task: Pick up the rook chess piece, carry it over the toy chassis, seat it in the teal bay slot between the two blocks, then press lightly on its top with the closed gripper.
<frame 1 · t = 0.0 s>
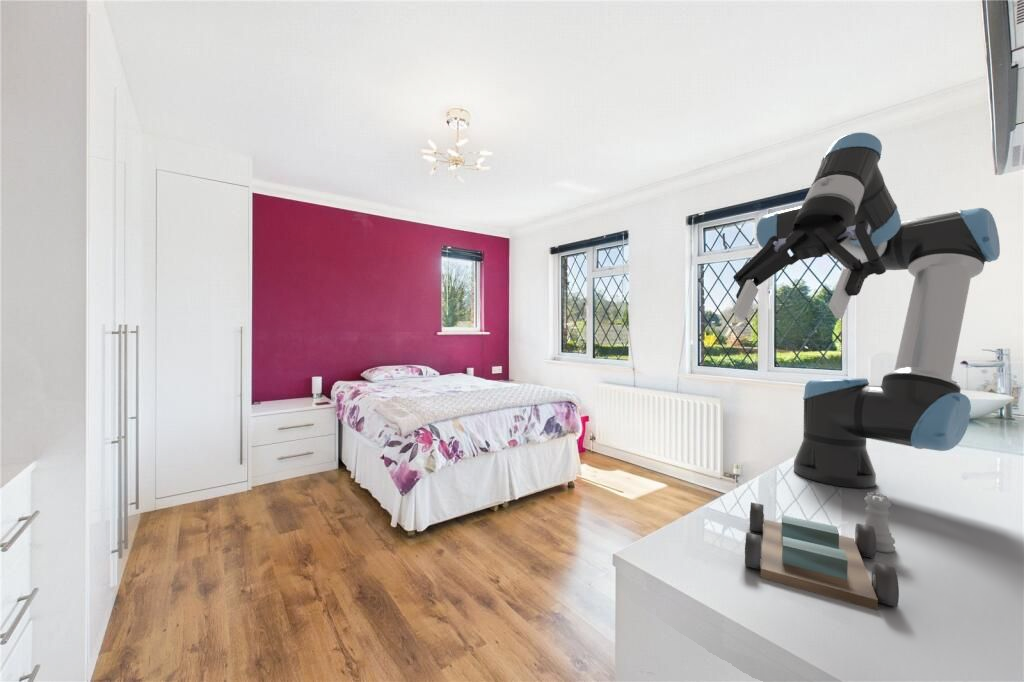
hand: (781, 314, 62), 36 cm above the cabinet, tool tilted 35°, fingers open, 13 cm apart
rook chess piece: (876, 547, 65), on the cabinet
chassis: (810, 560, 60), on the cabinet
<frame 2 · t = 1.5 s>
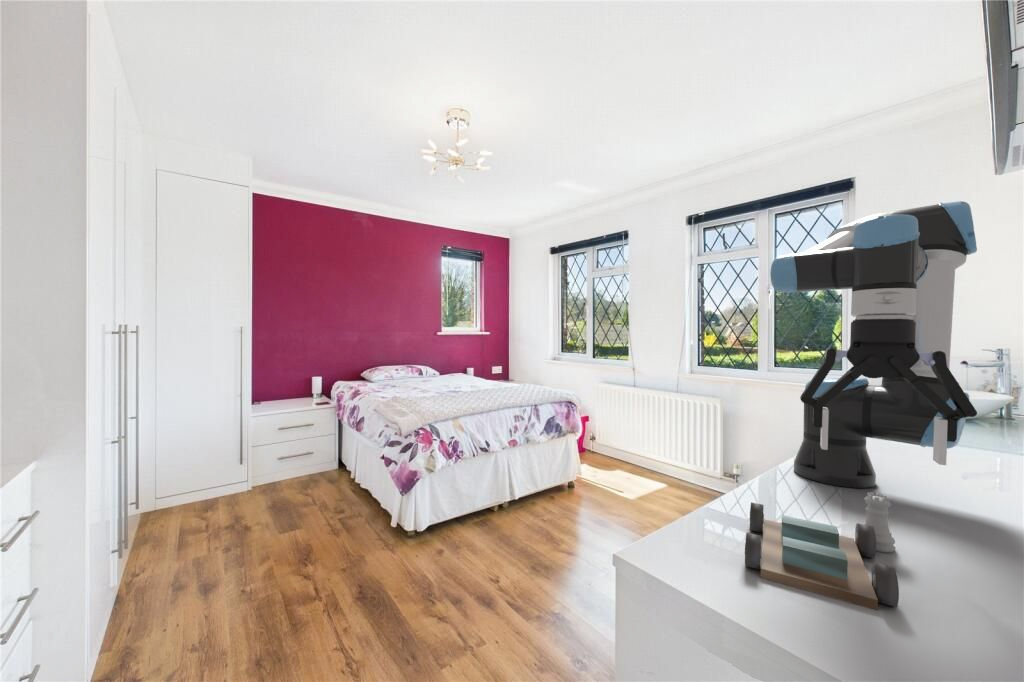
hand: (878, 455, 64), 14 cm above the cabinet, tool pointing down, fingers open, 13 cm apart
nothing on the cabinet moved.
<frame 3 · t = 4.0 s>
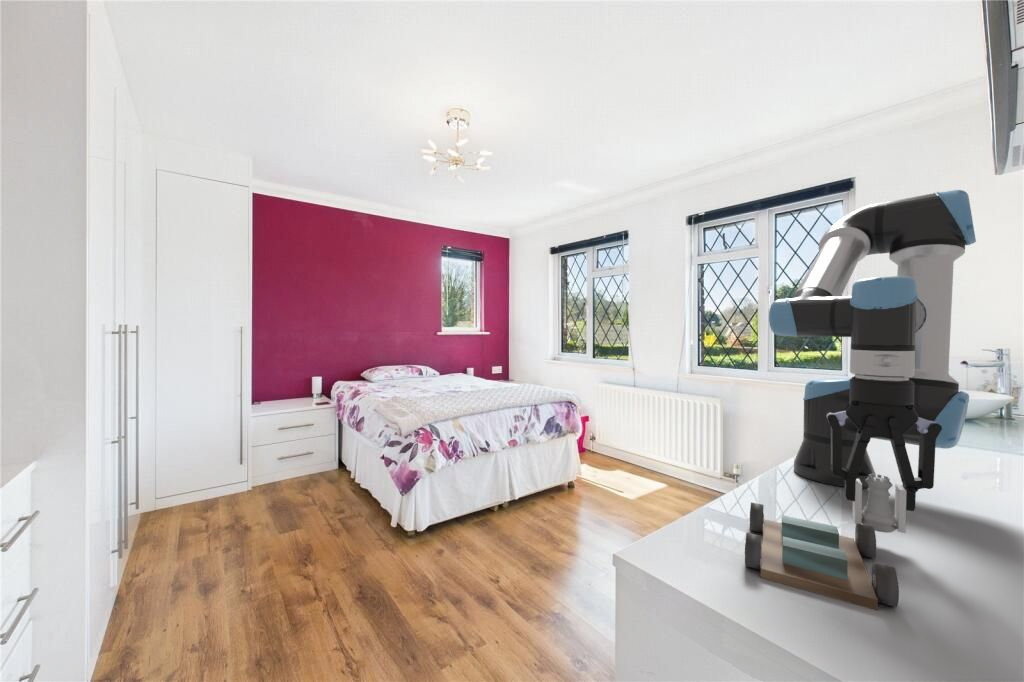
hand: (877, 524, 65), 3 cm above the cabinet, tool pointing down, fingers closed on rook chess piece, 4 cm apart
rook chess piece: (877, 527, 65), point 3 cm above the cabinet, touching gripper
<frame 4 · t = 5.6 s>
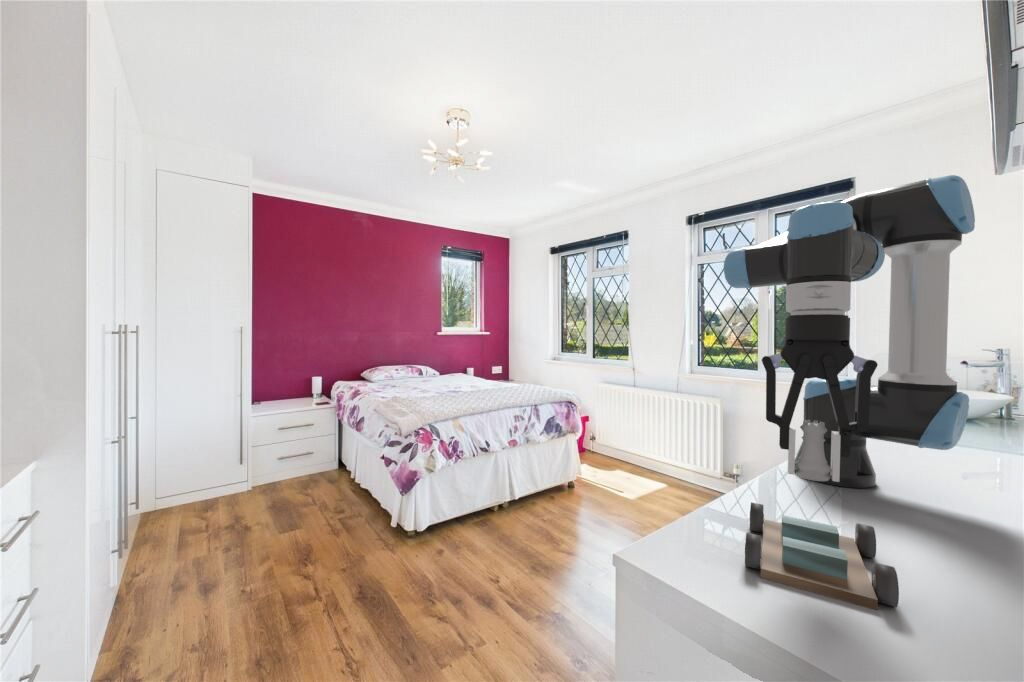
hand: (812, 474, 60), 13 cm above the cabinet, tool pointing down, fingers closed on rook chess piece, 4 cm apart
rook chess piece: (812, 478, 60), point 12 cm above the cabinet, touching gripper
when the fingers open (2 cm above the cabinet, at t = 7.0 s): rook chess piece stays where it is, resting on chassis.
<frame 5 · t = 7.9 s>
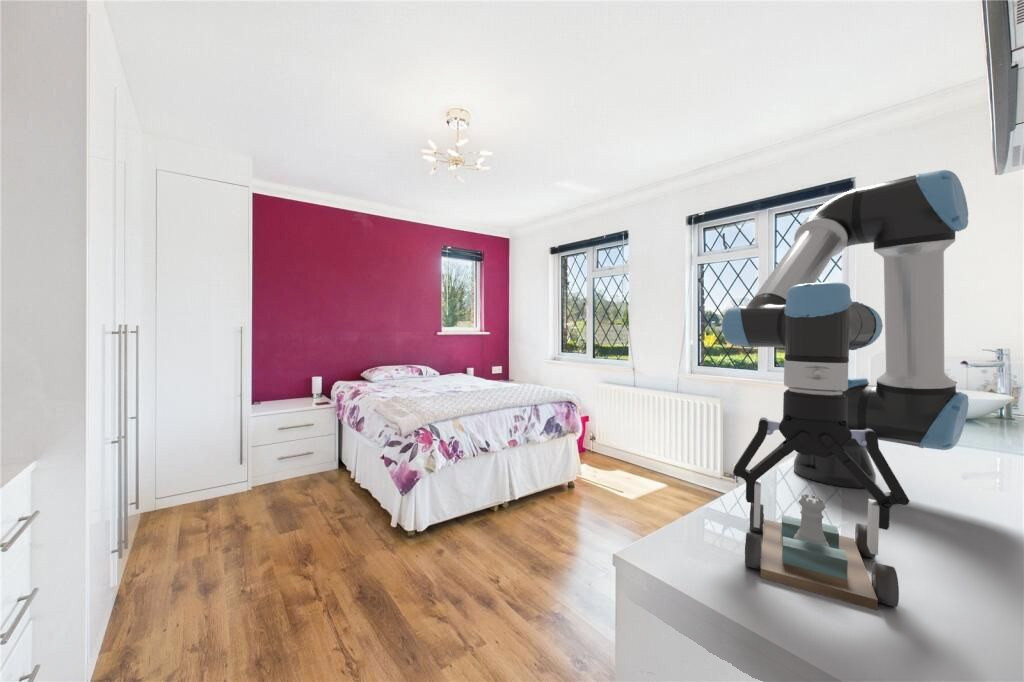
hand: (811, 536, 60), 4 cm above the cabinet, tool pointing down, fingers open, 13 cm apart
rook chess piece: (810, 553, 60), point 1 cm above the cabinet, touching chassis
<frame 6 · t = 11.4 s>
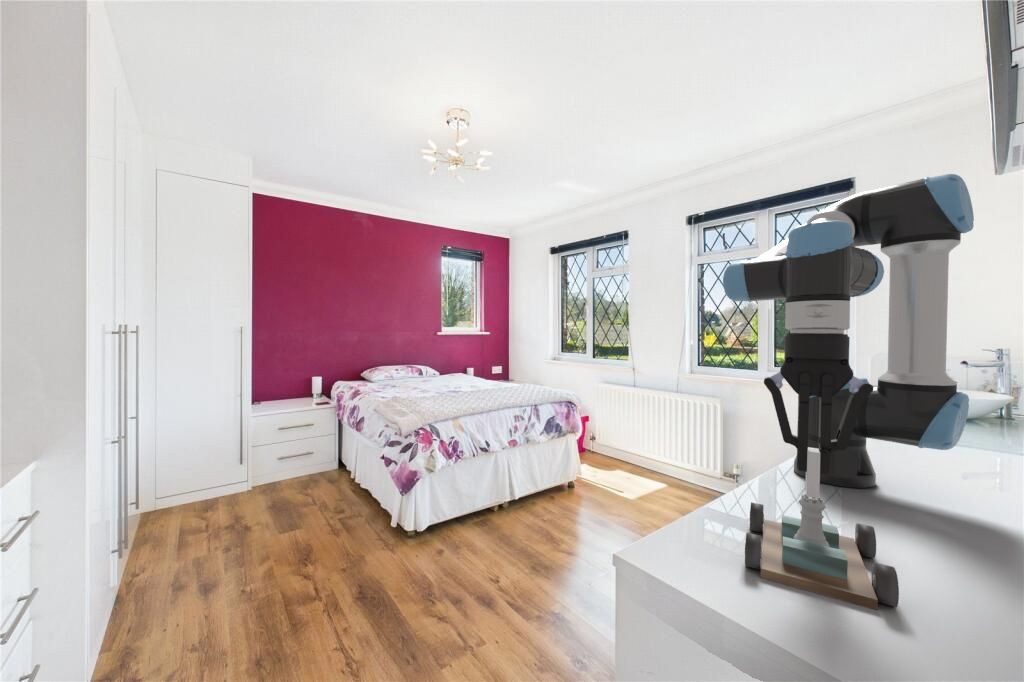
hand: (812, 494, 60), 10 cm above the cabinet, tool pointing down, fingers closed
nothing on the cabinet moved.
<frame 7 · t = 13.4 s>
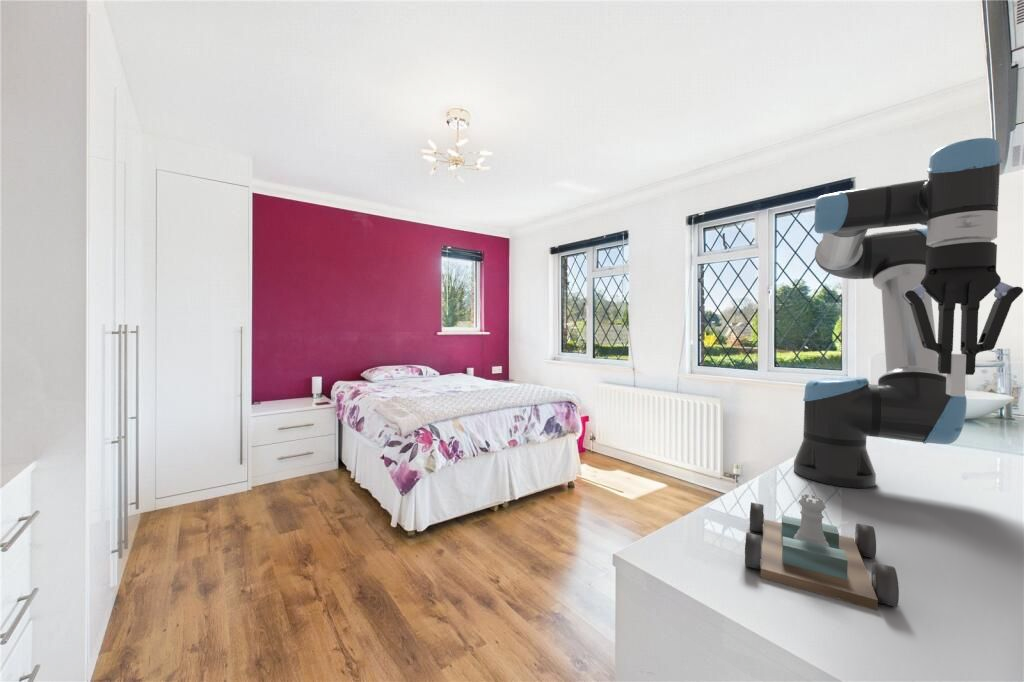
hand: (955, 395, 65), 24 cm above the cabinet, tool pointing down, fingers closed
nothing on the cabinet moved.
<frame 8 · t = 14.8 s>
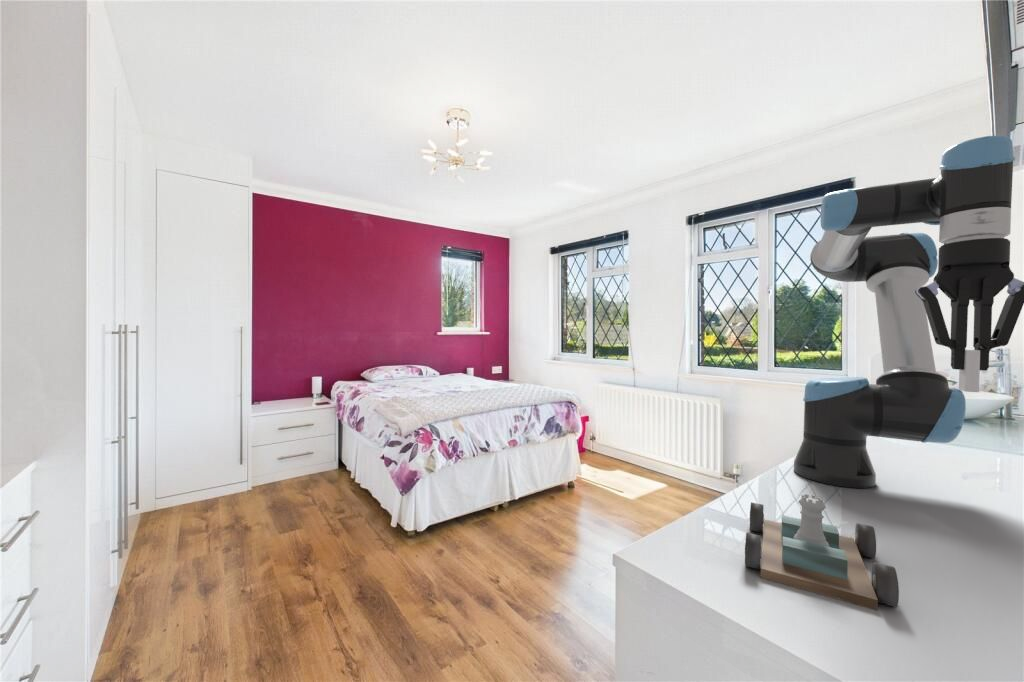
hand: (968, 390, 65), 24 cm above the cabinet, tool pointing down, fingers closed
nothing on the cabinet moved.
at the end: rook chess piece 0.1 cm off-centre on the chassis, point 1.0 cm above the chassis's base; rook chess piece tilted 0°; the gripper is holding nothing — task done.
